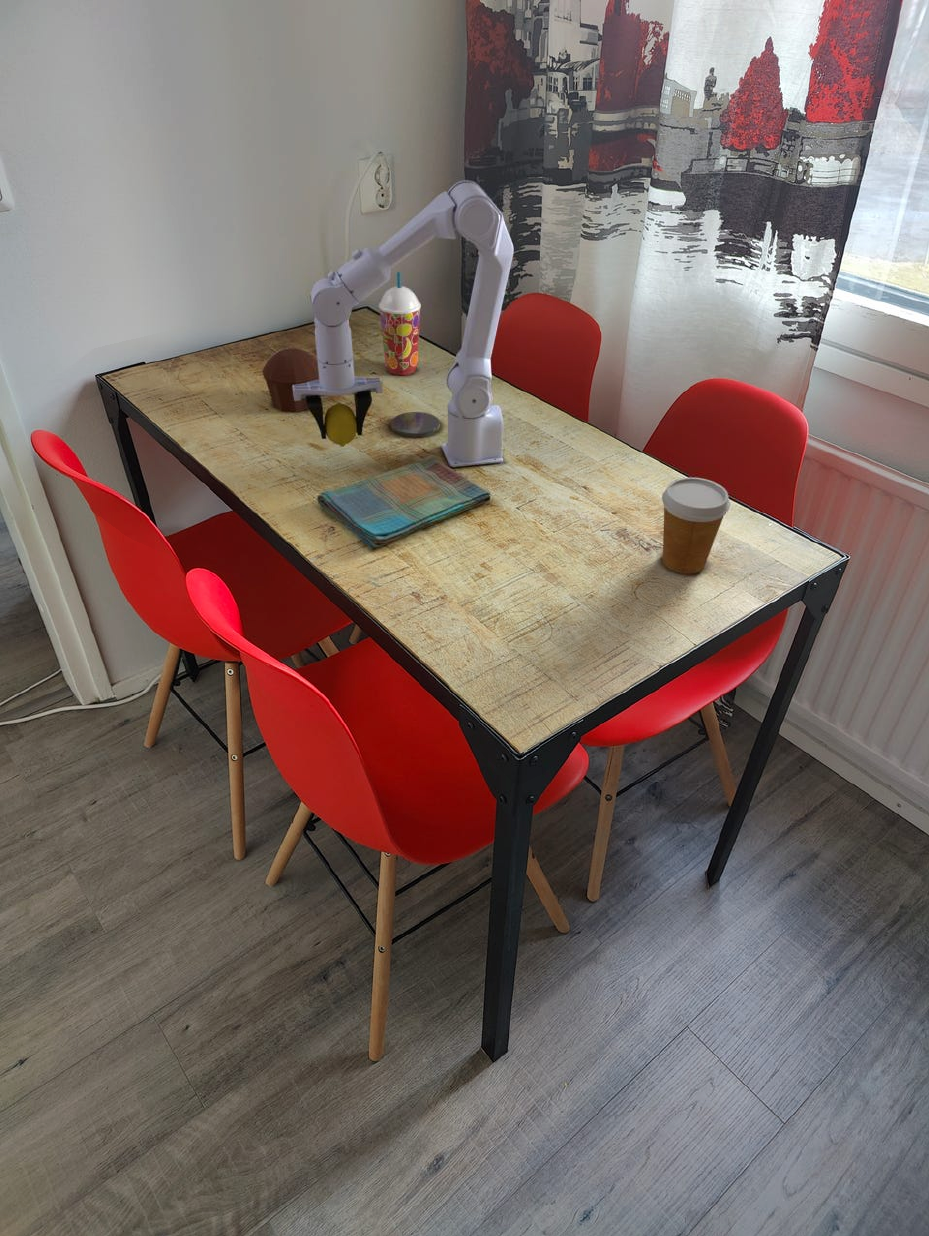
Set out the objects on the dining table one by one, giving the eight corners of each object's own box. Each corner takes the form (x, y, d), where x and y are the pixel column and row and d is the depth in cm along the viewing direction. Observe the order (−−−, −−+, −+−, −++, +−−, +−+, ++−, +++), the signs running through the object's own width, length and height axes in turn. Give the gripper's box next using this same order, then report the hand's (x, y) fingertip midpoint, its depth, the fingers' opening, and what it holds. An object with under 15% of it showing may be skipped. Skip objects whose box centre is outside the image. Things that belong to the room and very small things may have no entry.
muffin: (314, 417, 171) (309, 367, 164) (258, 412, 172) (251, 362, 166) (331, 391, 180) (327, 342, 174) (278, 387, 181) (272, 338, 175)
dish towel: (314, 505, 146) (313, 491, 145) (430, 462, 158) (430, 449, 156) (374, 552, 136) (373, 538, 134) (493, 503, 147) (493, 489, 146)
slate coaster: (434, 413, 173) (434, 409, 172) (444, 434, 166) (444, 431, 165) (387, 417, 171) (387, 414, 171) (395, 439, 164) (395, 435, 164)
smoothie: (377, 364, 191) (373, 267, 178) (415, 360, 193) (413, 264, 180) (387, 380, 184) (382, 281, 172) (426, 375, 186) (424, 277, 174)
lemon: (353, 455, 152) (349, 411, 147) (321, 452, 153) (317, 408, 148) (362, 440, 156) (359, 397, 151) (332, 437, 157) (328, 394, 152)
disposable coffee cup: (671, 537, 140) (683, 469, 132) (727, 560, 135) (743, 490, 128) (639, 564, 134) (650, 494, 127) (696, 588, 129) (712, 517, 122)
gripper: (376, 344, 149) (380, 420, 157) (287, 351, 146) (296, 428, 155) (382, 361, 143) (386, 438, 152) (291, 369, 141) (300, 447, 149)
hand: (341, 434), depth 153 cm, fingers closed on lemon, 5 cm apart
